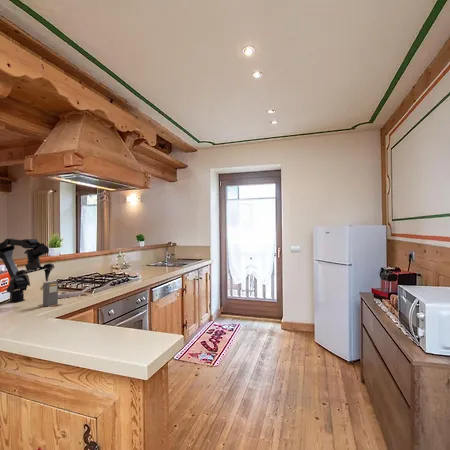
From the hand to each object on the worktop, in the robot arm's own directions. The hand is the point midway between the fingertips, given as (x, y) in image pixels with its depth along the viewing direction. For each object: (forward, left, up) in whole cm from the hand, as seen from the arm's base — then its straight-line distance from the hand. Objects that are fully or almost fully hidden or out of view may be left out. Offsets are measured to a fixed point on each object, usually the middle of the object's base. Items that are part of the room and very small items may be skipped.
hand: (38, 283), depth 162 cm
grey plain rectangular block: (+12, -4, -11) cm, 17 cm away
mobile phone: (+7, +21, -12) cm, 26 cm away
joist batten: (+12, -4, -12) cm, 17 cm away
